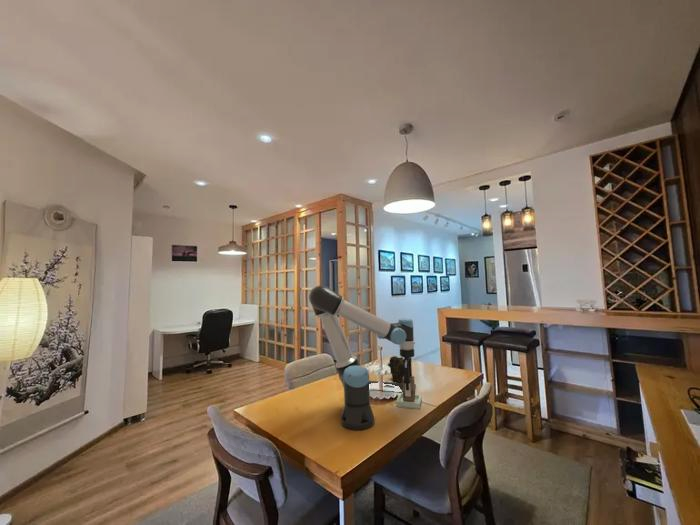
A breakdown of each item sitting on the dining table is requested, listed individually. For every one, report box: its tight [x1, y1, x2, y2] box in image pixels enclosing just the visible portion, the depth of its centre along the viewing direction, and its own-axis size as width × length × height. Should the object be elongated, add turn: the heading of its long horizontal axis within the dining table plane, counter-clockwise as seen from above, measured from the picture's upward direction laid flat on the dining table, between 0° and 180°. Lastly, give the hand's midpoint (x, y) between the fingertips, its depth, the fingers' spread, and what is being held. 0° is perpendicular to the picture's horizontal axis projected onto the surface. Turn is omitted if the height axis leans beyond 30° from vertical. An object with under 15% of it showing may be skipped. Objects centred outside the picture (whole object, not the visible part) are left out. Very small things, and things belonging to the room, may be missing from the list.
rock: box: [387, 355, 404, 383], centre depth 183 cm, size 12×9×15 cm
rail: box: [369, 379, 417, 392], centre depth 169 cm, size 10×30×2 cm, turn 71°
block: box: [402, 375, 416, 402], centre depth 148 cm, size 6×6×11 cm
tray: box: [395, 393, 423, 410], centre depth 147 cm, size 12×12×3 cm
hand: (408, 393), depth 147 cm, fingers closed on block, 5 cm apart
